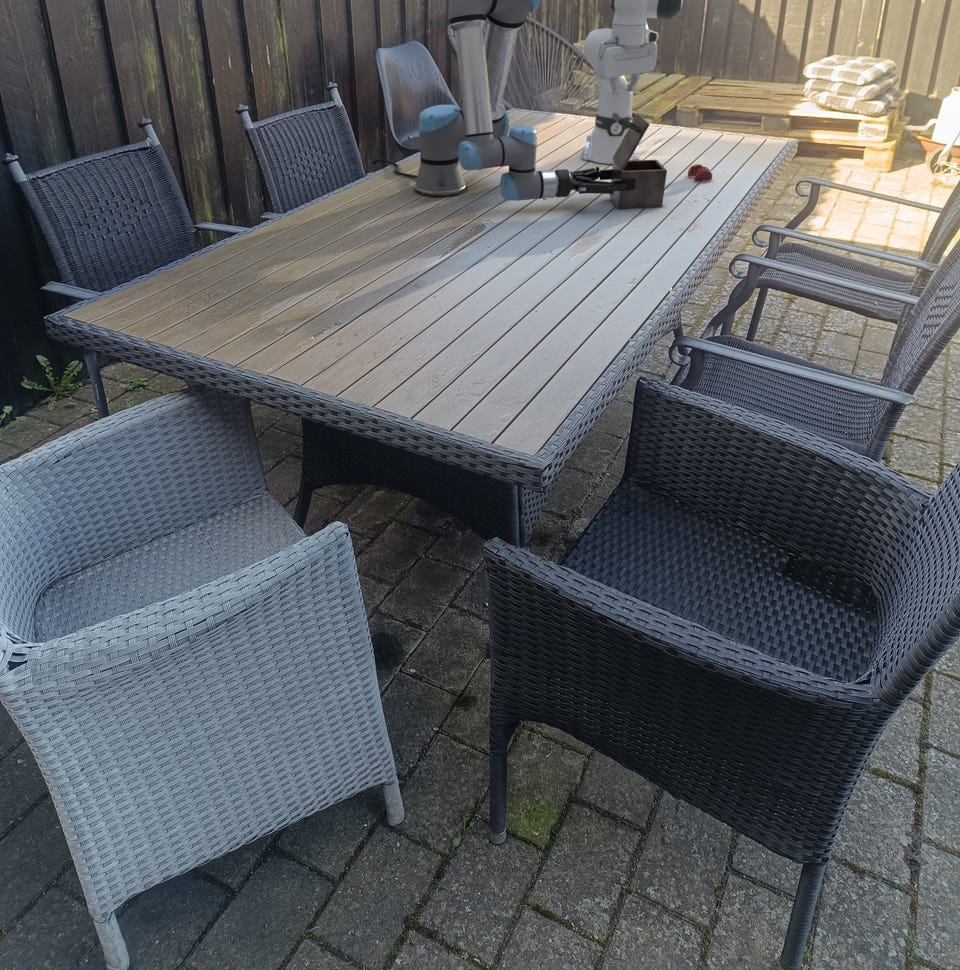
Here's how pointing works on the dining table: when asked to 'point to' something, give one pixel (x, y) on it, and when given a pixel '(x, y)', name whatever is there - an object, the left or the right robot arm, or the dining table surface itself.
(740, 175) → the dining table surface
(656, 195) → the chest
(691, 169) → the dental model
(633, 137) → the lid
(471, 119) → the left robot arm
